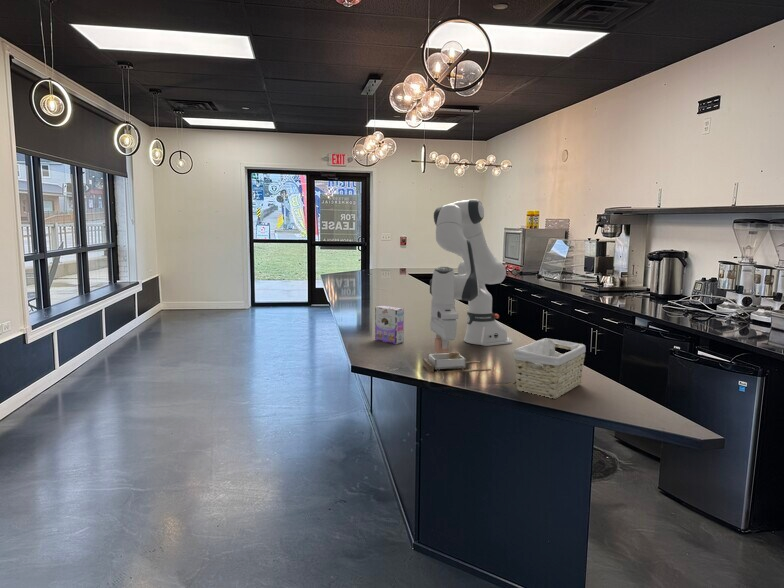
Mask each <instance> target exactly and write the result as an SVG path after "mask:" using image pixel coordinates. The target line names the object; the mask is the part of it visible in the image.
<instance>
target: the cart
mask: <svg viewBox="0 0 784 588" xmlns="http://www.w3.org/2000/svg"><path fill="white" fill-rule="evenodd" d="M427 360H428V361H429V362H430V363H431V364H433V365H434V370H435V371H436V372H439V371H441V370H446V369H447V370H448V369H458V370H463V368H466V366H467V364H466V362H467V361H466V360H467V359H466V358H465V356H462V355H461V354H460V353H459V359H449V352H448V353H429V354H427Z"/></svg>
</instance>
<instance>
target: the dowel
mask: <svg viewBox="0 0 784 588" xmlns="http://www.w3.org/2000/svg"><path fill="white" fill-rule="evenodd" d="M448 353H449V359H459V354H460V352H459V351H448Z"/></svg>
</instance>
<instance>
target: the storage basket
mask: <svg viewBox="0 0 784 588" xmlns="http://www.w3.org/2000/svg"><path fill="white" fill-rule="evenodd" d="M556 348H560V349H564V350H568V352H565V353H560V352H556ZM586 349H587V348H586V345H585V344H583V343H578V342H572V341H567V340H561V339H560V340H559V339H554V338H547V337H546V338H541V339H538V340H535V341H534V342H530V343H529V344H525V345H523V346H520V347H517V348H515V349H514V356H513V357H514V363H515V364H514V365H515V378H516V389H517V390H518V391H519V392H522V391H524V392H523V393H526V392H528V393H527V394H531V393H532V394H531V395H534V394H537V395H536V396H539V395H541V396H540V397H542V396H545V398H546V397H549V398H548V399H552V398H553V399H554V400H555V399H558V398H560V397H561V395H562V396H563V395H564V394H565V395H566V393H568V392H570V391H571V390H573V389H575V388H576V387H579V385H581V384H582V383H583V382H582V379H583V370H584V362H585V358H586V352H587V351H586ZM569 350H570V351H569Z"/></svg>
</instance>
